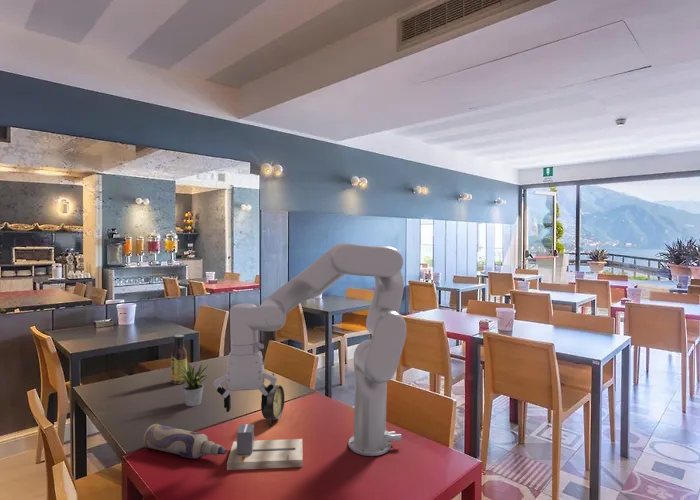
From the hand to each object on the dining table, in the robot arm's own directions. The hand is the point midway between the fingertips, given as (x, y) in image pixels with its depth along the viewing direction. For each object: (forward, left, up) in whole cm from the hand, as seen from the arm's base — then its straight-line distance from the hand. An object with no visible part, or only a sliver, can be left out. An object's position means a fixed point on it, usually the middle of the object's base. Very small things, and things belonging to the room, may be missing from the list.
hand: (246, 409), depth 122 cm
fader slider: (0, 0, -12) cm, 11 cm away
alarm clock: (-6, -24, -14) cm, 28 cm away
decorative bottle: (+18, -3, -14) cm, 23 cm away
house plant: (+25, -41, -14) cm, 50 cm away
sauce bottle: (+35, -65, -14) cm, 75 cm away
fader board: (-6, 0, -14) cm, 15 cm away
